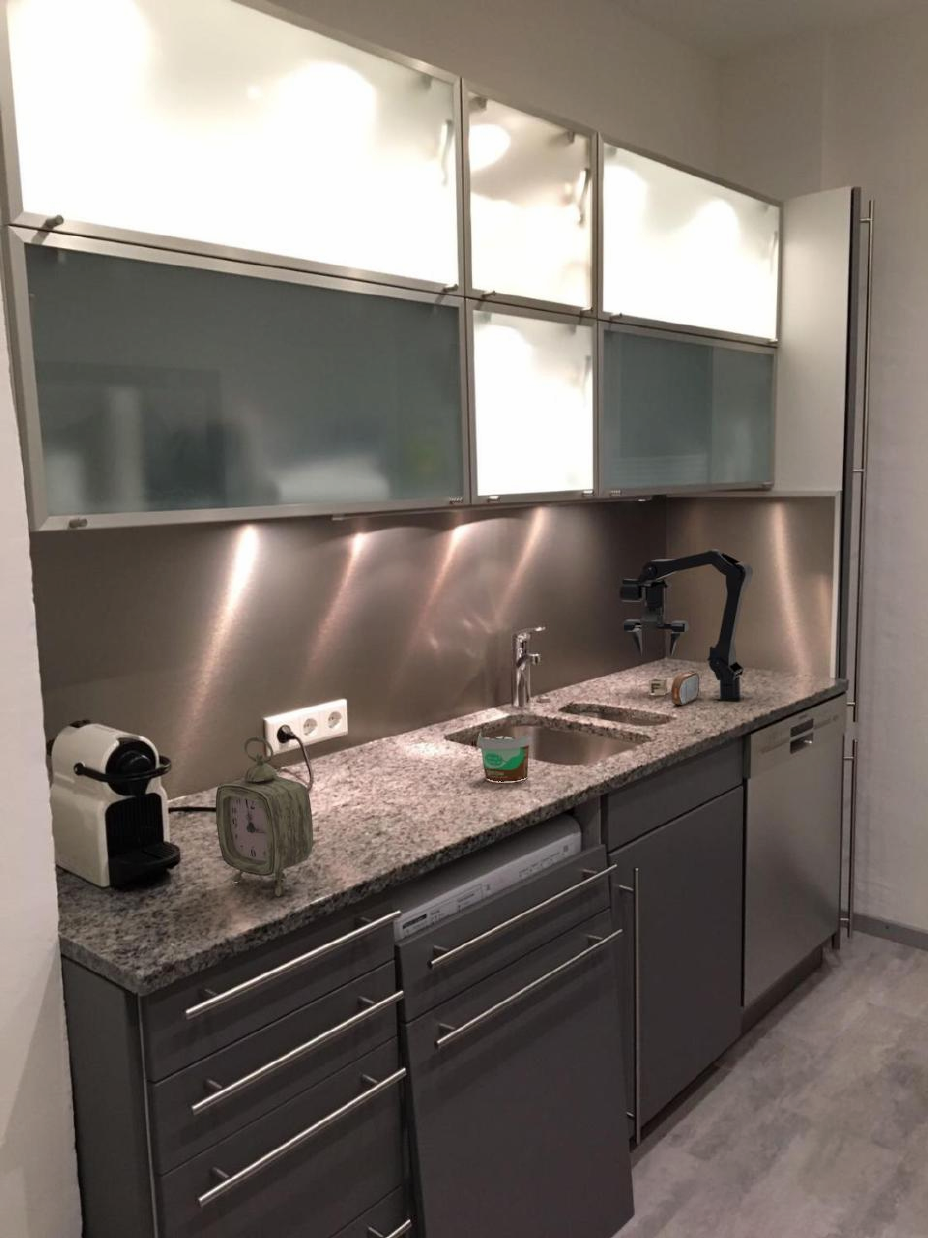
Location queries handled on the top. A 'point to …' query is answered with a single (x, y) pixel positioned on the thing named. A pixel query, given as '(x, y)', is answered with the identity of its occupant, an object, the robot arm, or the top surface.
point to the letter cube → (658, 686)
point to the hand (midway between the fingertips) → (655, 654)
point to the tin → (685, 688)
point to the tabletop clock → (264, 821)
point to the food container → (505, 757)
